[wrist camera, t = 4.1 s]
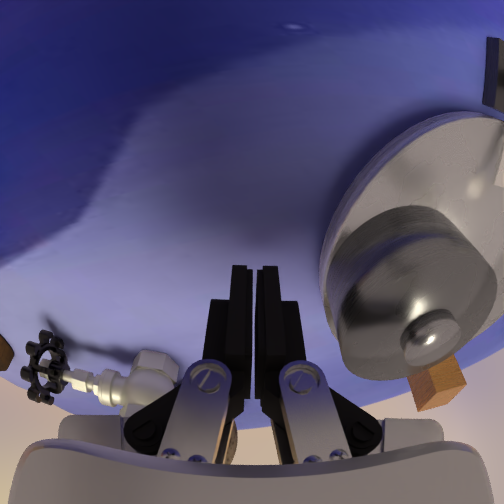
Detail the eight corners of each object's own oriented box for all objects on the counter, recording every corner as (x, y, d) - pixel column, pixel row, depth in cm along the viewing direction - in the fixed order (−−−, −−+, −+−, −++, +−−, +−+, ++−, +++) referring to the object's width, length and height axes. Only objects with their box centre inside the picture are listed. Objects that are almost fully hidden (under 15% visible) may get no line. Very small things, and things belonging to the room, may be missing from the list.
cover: (341, 198, 10) (383, 274, 7) (477, 211, 10) (532, 270, 7) (314, 327, 14) (326, 403, 11) (428, 320, 14) (455, 380, 11)
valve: (180, 341, 20) (43, 313, 19) (165, 425, 15) (9, 376, 14) (183, 384, 24) (66, 358, 23) (173, 451, 18) (44, 415, 17)
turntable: (343, 74, 9) (418, 85, 4) (560, 152, 9) (617, 194, 4) (299, 354, 18) (307, 432, 14) (479, 334, 18) (504, 385, 14)
